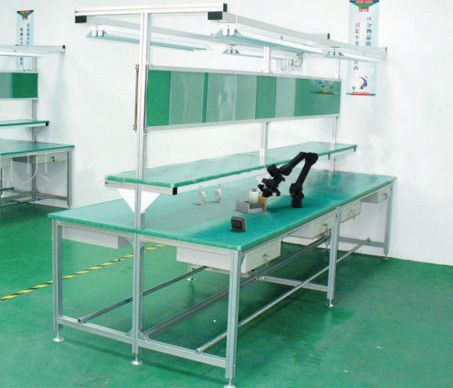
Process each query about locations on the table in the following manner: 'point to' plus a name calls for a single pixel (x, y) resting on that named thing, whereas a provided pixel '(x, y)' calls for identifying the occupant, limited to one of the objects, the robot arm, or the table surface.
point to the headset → (216, 195)
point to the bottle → (253, 196)
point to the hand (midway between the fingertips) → (261, 199)
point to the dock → (246, 208)
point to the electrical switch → (238, 223)
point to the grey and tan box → (260, 204)
